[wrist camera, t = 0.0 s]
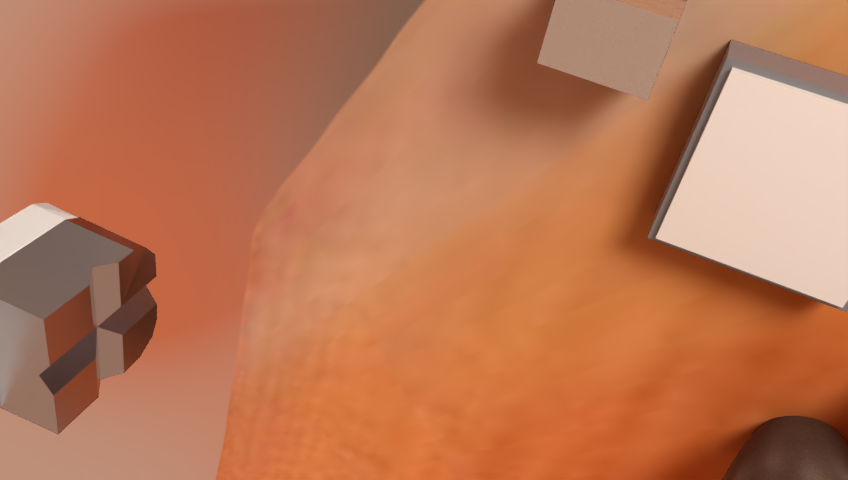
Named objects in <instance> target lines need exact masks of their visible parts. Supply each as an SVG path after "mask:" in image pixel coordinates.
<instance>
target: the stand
mask: <svg viewBox="0 0 848 480" xmlns="http://www.w3.org/2000/svg"><path fill="white" fill-rule="evenodd" d="M647 238H649V239H652V240H655V241H657V242H660V243H663V244H665V245H668V246H671V247H673V248H676V249H679V250H681V251H684V252H687V253H689V254H692V255H695V256H697V257H700V258H703V259H705V260H708V261H711V262H714V263H716V264H719V265H722V266H724V267H727V268H730V269H732V270H735V271H738V272H740V273H743V274H746V275H748V276H751V277H754V278H756V279H759V280H762V281H764V282H767V283H770V284H772V285H775V286H778V287H781V288H783V289H786V290H789V291H791V292H794V293H797V294H799V295H802V296H805V297H807V298H810V299H813V300H815V301H818V302H821V303H823V304H826V305H829V306H831V307H834V308H837V309H839V310H842V311H845V312H846V311H847V310H848V76H844V75H841V74H838V73H835V72H832V71H829V70H825V69H822V68H819V67H816V66H813V65H810V64H806V63H803V62H800V61H797V60H794V59H791V58H787V57H784V56H781V55H778V54H775V53H772V52H768V51H765V50H762V49H759V48H756V47H753V46H749V45H746V44H743V43H740V42H737V41H734V40H731V41H730V43H729V46H728V48H727V50H726V52H725V55H724V57H723V59H722V61H721V64H720V66H719V68H718V71H717V73H716V75H715V77H714V80H713V82H712V84H711V86H710V89H709V91H708V93H707V96H706V98H705V100H704V102H703V105H702V107H701V109H700V111H699V114H698V116H697V118H696V121H695V123H694V125H693V127H692V130H691V132H690V134H689V136H688V139H687V141H686V143H685V145H684V148H683V150H682V152H681V155H680V157H679V159H678V161H677V164H676V166H675V168H674V170H673V173H672V175H671V177H670V180H669V182H668V184H667V186H666V189H665V191H664V193H663V195H662V198H661V200H660V202H659V205H658V207H657V209H656V211H655V214H654V216H653V220H652V223H651V227H650V230H649V233H648V237H647Z"/></svg>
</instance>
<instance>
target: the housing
mask: <svg viewBox="0 0 848 480" xmlns="http://www.w3.org/2000/svg"><path fill="white" fill-rule="evenodd" d="M686 2H687V0H555V3H554V7H553V10H552V14H551V17H550V20H549V24H548V27H547V31H546V34H545V37H544V41H543V44H542V48H541V51H540V54H539V58H538V61H537V63H538V64H541V65H544V66H547V67H550V68H553V69H556V70H559V71H562V72H565V73H568V74H571V75H574V76H577V77H580V78H583V79H586V80H589V81H592V82H595V83H598V84H601V85H603V86H606V87H609V88H612V89H615V90H618V91H621V92H624V93H627V94H630V95H633V96H636V97H639V98H642V99H645V100H648V98H649V95H650V93H651V90H652V88H653V85H654V83H655V80H656V78H657V76H658V73H659V71H660V68H661V66H662V63H663V61H664V58H665V56H666V53H667V51H668V48H669V46H670V43H671V40H672V38H673V35H674V33H675V30H676V28H677V25H678V23H679V20H680V18H681V15H682V13H683V10H684V7H685V5H686Z"/></svg>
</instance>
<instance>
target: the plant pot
mask: <svg viewBox="0 0 848 480" xmlns="http://www.w3.org/2000/svg"><path fill="white" fill-rule="evenodd" d="M722 480H848V443H847V442H846V441H845V439H844V438H843V437H842V436H841V434H839V433H838V432H837V431H836V430H835V429H833V428H832V427H830V426H829V425H827V424H825V423H823V422H821V421H818V420H815V419H812V418H808V417H801V416H785V417H779V418H775V419H772V420H769V421H767V422H765V423H764V424H762V425H761V426H760V427H759V428H758V429H757V430H756V431H755V432H754V433H753V435H752V436H751V437H750V438H749V440H748V441H747V442H746V444H745V445H744V446H743V448H742V449H741V450H740V452H739V453H738V455H737V456H736V458H735V459H734V461H733V463H732V464H731V466H730V467H729V469H728V471H727V472H726V474H725V476H724V478H723V479H722Z"/></svg>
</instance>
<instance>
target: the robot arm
mask: <svg viewBox="0 0 848 480" xmlns="http://www.w3.org/2000/svg"><path fill="white" fill-rule="evenodd" d="M155 277H156V262H155V254H154V253H152V252H151V251H149V250H148V249H147V248H145V247H143V246H141V245H139V244H137V243H134V242H132V241H130V240H128V239H125V238H123V237H121V236H119V235H117V234H115V233H113V232H111V231H108V230H106V229H104V228H102V227H100V226H98V225H95V224H93V223H91V222H89V221H87V220H85V219H82V218H80V217H76V216H74V215H72V214H70V213H68V212H65V211H63V210H61V209H59V208H57V207H55V206H53V205H50V204H48V203H41V204H32V205H30V206H28V207H27V208H25V209H23V210H22V211H20V212H19V213H17V214H15V215H13V216H12V217H10V218H8V219H7V220H5V221H3V222H2V223H0V408H2V409H4V410H6V411H9V412H11V413H13V414H15V415H17V416H19V417H21V418H24V419H26V420H28V421H30V422H32V423H35V424H37V425H39V426H41V427H43V428H45V429H48V430H50V431H52V432H54V433H56V434H59V433H60V432H61V431H62V430H64V429H65V428H66V427H67V426H68V425H69V424H70V423H71V422H72V421H73V420H74V419H75V418H76V417H77V416H78V415H80V414H81V413H82V412H83V411H84V410H85V409H86V408H87V407H88V406H89V405H90V404H91V403H92V402H94V401H95V400H96V399H97V398H98V395H99V387H100V380H101V379H105V378H108V377H111V376H115V375H118V374H122V373H124V372H125V371H126V370H127V369H128V368H129V367H130V366H131V365H132V364H133V363H134V362H135V361H136V360H137V359H138V358H139V357H140V356H141V354H142V353H143V351H144V349H145V348H146V346H147V344H148V342H149V341H150V339H151V338H152V335H153V331H154V328H155V324H156V320H157V304H156V302H155V300H154V298H153V297H152V295H151V293H150V291H149V290H148V288H147V286H146V285H147V284H148V283H149V282H150V281H151V280H152V279H154V278H155Z"/></svg>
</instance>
